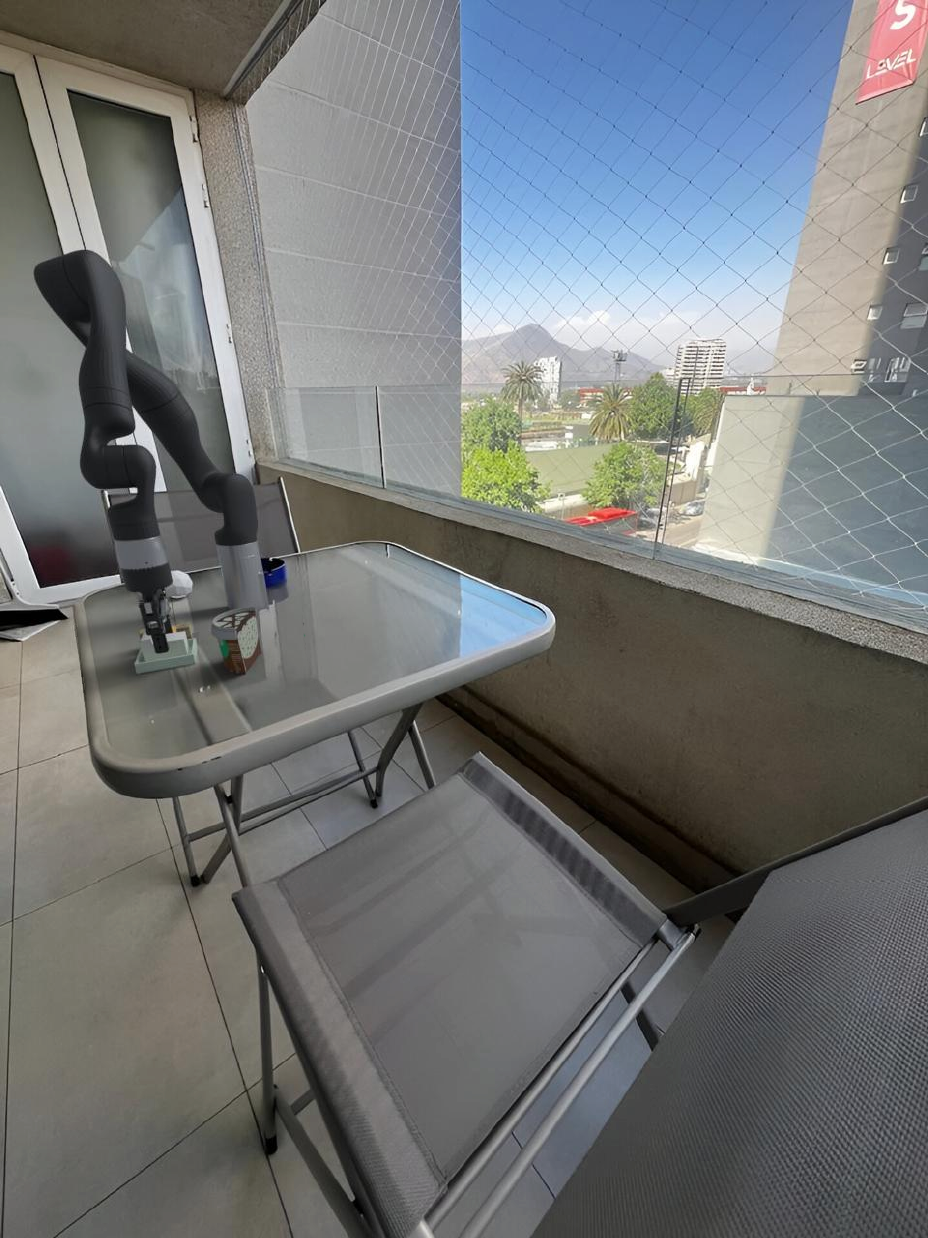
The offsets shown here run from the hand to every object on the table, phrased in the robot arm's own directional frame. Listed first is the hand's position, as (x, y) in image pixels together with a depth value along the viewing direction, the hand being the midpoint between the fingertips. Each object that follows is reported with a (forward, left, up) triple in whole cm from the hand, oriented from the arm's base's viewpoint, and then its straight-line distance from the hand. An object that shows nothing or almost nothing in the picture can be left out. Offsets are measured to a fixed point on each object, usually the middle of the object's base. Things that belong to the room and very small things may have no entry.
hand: (165, 644), depth 94 cm
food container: (-12, +8, -4) cm, 15 cm away
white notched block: (0, 0, -3) cm, 3 cm away
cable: (0, -10, -3) cm, 10 cm away
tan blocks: (0, -8, -3) cm, 8 cm away
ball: (+2, -46, -4) cm, 46 cm away
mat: (0, -4, -4) cm, 6 cm away
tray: (0, 0, -3) cm, 3 cm away
